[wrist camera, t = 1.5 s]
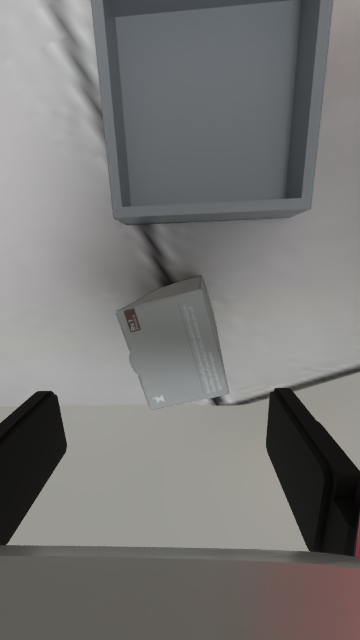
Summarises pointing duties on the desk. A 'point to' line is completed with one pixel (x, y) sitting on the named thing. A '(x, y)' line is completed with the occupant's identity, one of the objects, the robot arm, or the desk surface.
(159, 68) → the bin
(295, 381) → the desk surface
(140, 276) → the desk surface
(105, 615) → the robot arm
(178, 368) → the skincare box
